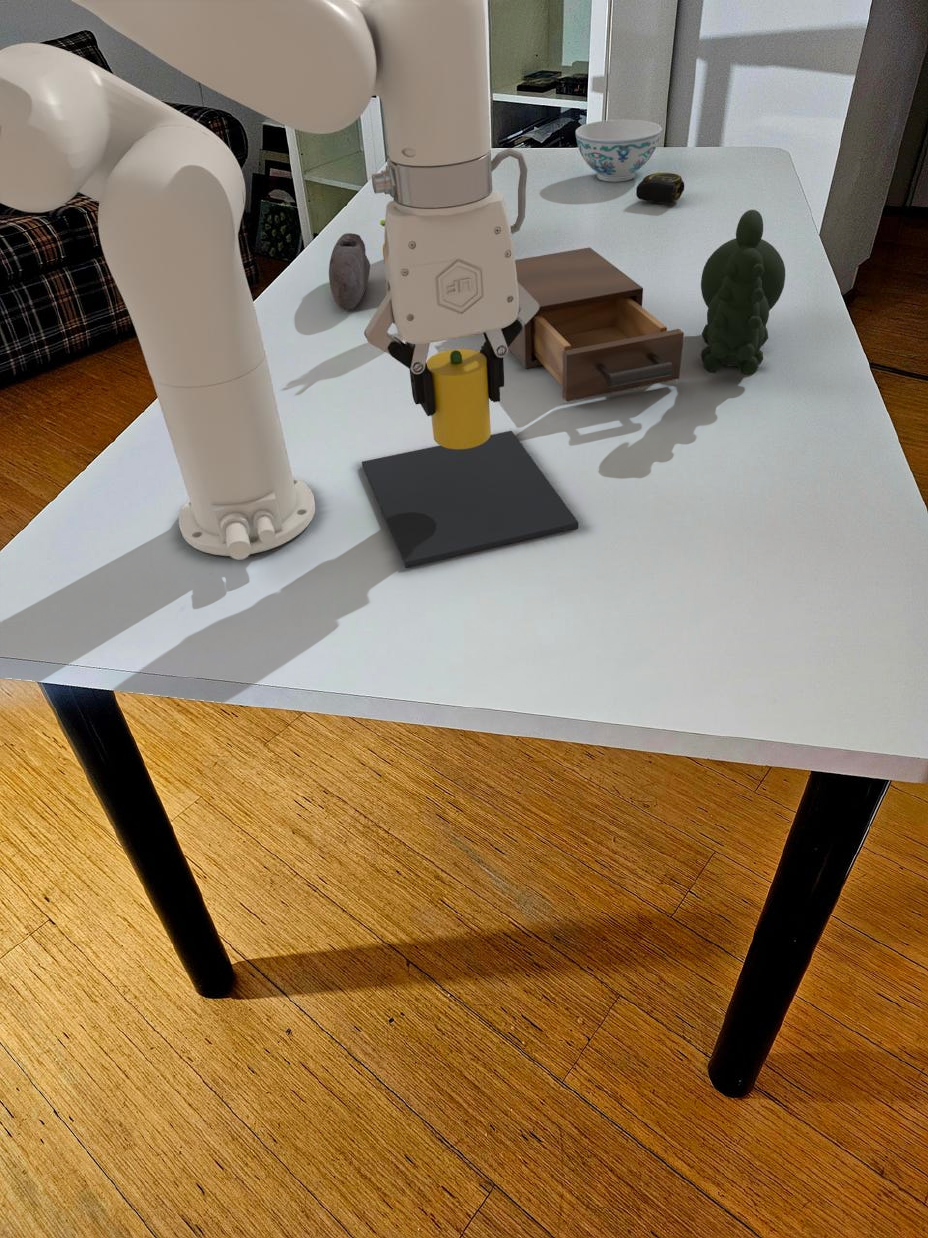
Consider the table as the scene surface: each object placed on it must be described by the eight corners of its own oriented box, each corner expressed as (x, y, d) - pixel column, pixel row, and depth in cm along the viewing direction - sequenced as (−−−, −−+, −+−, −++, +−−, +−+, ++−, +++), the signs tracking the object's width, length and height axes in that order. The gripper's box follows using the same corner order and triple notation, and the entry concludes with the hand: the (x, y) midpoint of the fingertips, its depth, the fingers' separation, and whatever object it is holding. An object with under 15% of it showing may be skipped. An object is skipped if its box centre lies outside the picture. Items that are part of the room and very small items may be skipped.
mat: (578, 527, 79) (578, 522, 79) (405, 567, 76) (404, 562, 76) (511, 435, 92) (511, 430, 92) (362, 466, 90) (361, 461, 89)
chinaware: (606, 193, 154) (608, 144, 149) (558, 175, 164) (559, 129, 159) (675, 177, 159) (679, 129, 154) (624, 160, 169) (627, 115, 164)
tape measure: (633, 204, 149) (634, 180, 146) (651, 193, 153) (653, 169, 150) (670, 209, 145) (672, 185, 143) (688, 197, 149) (691, 173, 147)
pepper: (498, 442, 79) (494, 356, 73) (442, 454, 78) (434, 368, 73) (480, 416, 83) (475, 333, 77) (427, 427, 82) (418, 344, 76)
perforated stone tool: (363, 319, 118) (355, 266, 114) (324, 321, 119) (315, 268, 114) (375, 278, 130) (369, 229, 125) (340, 280, 130) (332, 231, 125)
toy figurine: (769, 412, 96) (777, 303, 113) (801, 237, 83) (806, 142, 99) (680, 405, 99) (701, 299, 115) (697, 234, 85) (719, 142, 101)
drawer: (697, 394, 95) (703, 347, 91) (581, 419, 92) (582, 371, 89) (623, 330, 109) (626, 286, 105) (520, 349, 106) (519, 306, 103)
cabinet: (639, 346, 107) (643, 287, 102) (525, 368, 104) (524, 309, 100) (588, 301, 118) (590, 246, 114) (484, 320, 116) (481, 265, 111)
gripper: (339, 212, 62) (374, 442, 74) (567, 175, 65) (565, 401, 77) (320, 185, 67) (356, 403, 79) (531, 152, 71) (535, 366, 82)
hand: (459, 400), depth 78 cm, fingers closed on pepper, 5 cm apart
